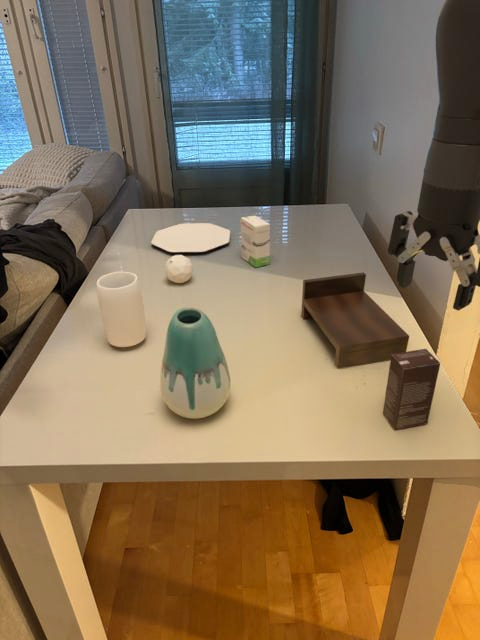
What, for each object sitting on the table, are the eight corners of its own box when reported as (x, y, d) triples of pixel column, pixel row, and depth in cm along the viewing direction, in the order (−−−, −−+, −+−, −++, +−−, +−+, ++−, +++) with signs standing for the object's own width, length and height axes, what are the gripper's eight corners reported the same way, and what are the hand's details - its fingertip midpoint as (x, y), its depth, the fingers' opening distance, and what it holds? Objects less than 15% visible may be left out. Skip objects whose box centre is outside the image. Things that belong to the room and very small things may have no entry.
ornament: (198, 283, 118) (182, 267, 112) (173, 291, 121) (156, 275, 115) (198, 261, 122) (183, 244, 115) (174, 269, 124) (157, 252, 118)
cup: (145, 352, 93) (135, 289, 86) (103, 353, 93) (89, 290, 86) (150, 329, 101) (142, 269, 93) (111, 331, 100) (99, 271, 93)
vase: (235, 424, 75) (232, 330, 66) (163, 432, 74) (149, 338, 65) (227, 379, 85) (223, 293, 76) (163, 386, 84) (151, 299, 75)
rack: (359, 307, 106) (363, 272, 102) (405, 357, 90) (413, 317, 85) (301, 316, 104) (303, 280, 99) (337, 369, 87) (341, 328, 83)
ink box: (270, 264, 128) (271, 223, 122) (254, 268, 126) (254, 226, 120) (255, 253, 134) (255, 214, 128) (240, 257, 133) (239, 217, 126)
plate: (228, 255, 134) (228, 250, 133) (146, 256, 134) (145, 251, 134) (231, 227, 154) (231, 222, 153) (160, 228, 155) (159, 223, 154)
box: (413, 406, 78) (426, 347, 72) (427, 425, 74) (443, 364, 68) (379, 411, 77) (390, 352, 71) (392, 431, 73) (405, 370, 67)
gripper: (531, 184, 53) (494, 307, 62) (422, 163, 63) (403, 272, 72) (498, 197, 50) (463, 326, 58) (387, 173, 59) (372, 286, 68)
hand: (430, 296), depth 65 cm, fingers open, 8 cm apart
